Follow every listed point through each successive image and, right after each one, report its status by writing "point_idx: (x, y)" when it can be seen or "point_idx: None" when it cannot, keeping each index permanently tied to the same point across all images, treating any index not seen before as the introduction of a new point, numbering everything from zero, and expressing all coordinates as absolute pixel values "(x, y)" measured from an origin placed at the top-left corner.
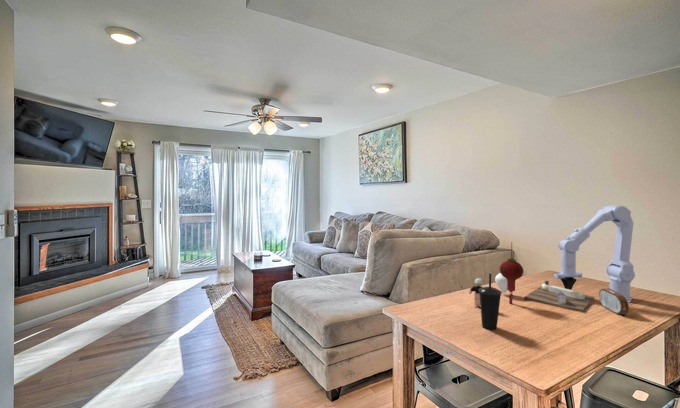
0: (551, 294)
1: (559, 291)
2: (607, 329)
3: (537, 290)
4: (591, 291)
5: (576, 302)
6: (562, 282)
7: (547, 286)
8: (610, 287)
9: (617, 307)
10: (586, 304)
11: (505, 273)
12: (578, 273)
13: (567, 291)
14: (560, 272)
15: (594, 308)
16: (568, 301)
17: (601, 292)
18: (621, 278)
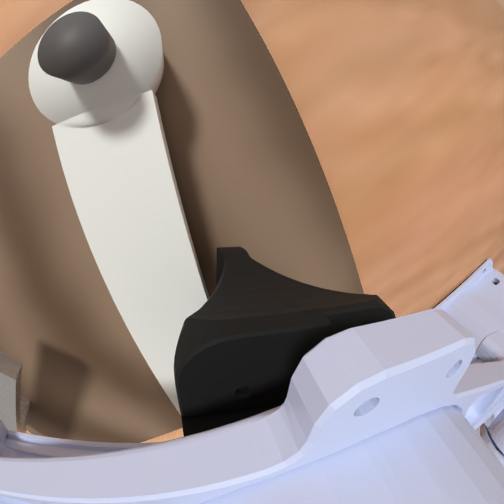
0: (39, 235)
1: (5, 424)
2: None
3: (5, 76)
4: (484, 188)
5: (117, 412)
6: (208, 299)
7: (54, 118)
8: (478, 343)
9: None
10: (153, 435)
11: None
12: (494, 403)
13: (147, 358)
14: (300, 449)
15: (177, 437)
16: (74, 393)
17: None
18: (483, 439)
